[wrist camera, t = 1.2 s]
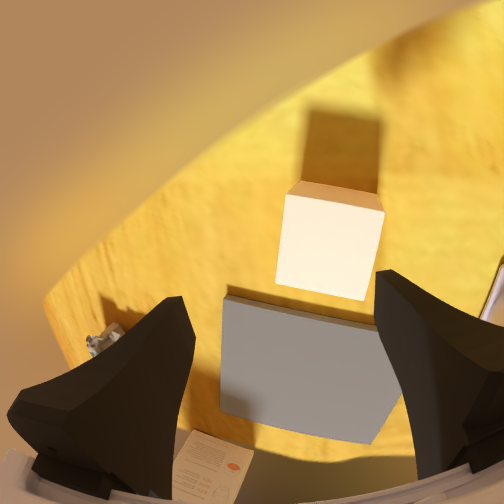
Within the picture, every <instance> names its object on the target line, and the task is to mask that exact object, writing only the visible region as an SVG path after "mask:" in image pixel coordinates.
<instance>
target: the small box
mask: <svg viewBox="0 0 504 504" xmlns="http://www.w3.org/2000/svg"><path fill="white" fill-rule="evenodd" d="M253 454H254V451H253V450H250V449H246V448H243V447H241V446H237V445H234V444H232V443H229V442H226V441H223V440H221V439H218V438H215V437H213V436H210V435H207V434H205V433H202V432H200V431H197V430H195V429H193V430H192V432H191V434H190V435H189V437H188V439H187V441H186V443H185V444H184V445H183V447H182V449H181V450H180V452H179V454H178V455H177V457H176V459H175V460H174V462H173V471H172V501H179V502H188V503H199V504H233V503H234V501H235V499H236V496H237V494H238V492H239V489H240V486H241V484H242V482H243V480H244V477H245V475H246V472H247V470H248V467H249V464H250V462H251V459H252V456H253Z"/></svg>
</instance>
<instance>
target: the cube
mask: <svg viewBox="0 0 504 504" xmlns="http://www.w3.org/2000/svg"><path fill="white" fill-rule="evenodd" d="M384 215H385V211H384V209H383V206H382V204H381V202H380V200H379V198H378V195H377V194H374V193H369V192H364V191H359V190H354V189H349V188H343V187H338V186H332V185H326V184H320V183H314V182H308V181H302V180H300V181H299V182H298V183H297V184H296V185H295V186H294V187H293V188H292V189H291V190H290V191H289V192H288V193H287V194H286V198H285V207H284V215H283V224H282V232H281V240H280V249H279V257H278V265H277V272H276V280H275V283H276V284H281V285H286V286H291V287H296V288H300V289H305V290H310V291H315V292H320V293H325V294H330V295H335V296H340V297H345V298H350V299H355V300H360V301H364V298H365V295H366V291H367V287H368V284H369V280H370V276H371V272H372V268H373V264H374V260H375V256H376V252H377V247H378V243H379V239H380V234H381V230H382V225H383V220H384Z"/></svg>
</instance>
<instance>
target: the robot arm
mask: <svg viewBox="0 0 504 504" xmlns="http://www.w3.org/2000/svg"><path fill="white" fill-rule="evenodd" d="M374 320H375V323H376V327H377V330H378V333H379V337H380V340H381V342H382V344H383V347H384V349H385V351H386V354H387V356H388V358H389V361H390V363H391V365H392V368H393V370H394V372H395V375H396V377H397V380H398V382H399V385H400V387H401V390H402V393H403V397H404V401H405V405H406V409H407V413H408V417H409V422H410V427H411V431H412V437H413V443H414V449H415V456H416V464H417V474H418V481H416V482H413V483H409V484H406V485H402V486H398V487H394V488H390V489H386V490H382V491H378V492H373V493H368V494H363V495H358V496H353V497H347V498H341V499H334V500H328V501H320V502H311V503H300V504H504V264H502V265H501V266H500V268H499V271H498V274H497V277H496V279H495V282H494V285H493V287H492V290H491V293H490V295H489V298H488V300H487V302H486V305H485V307H484V310H483V312H482V314H481V317H480V319H479V318H476V317H474V316H471V315H469V314H467V313H465V312H463V311H461V310H458V309H456V308H454V307H452V306H450V305H449V304H447V303H445V302H443V301H441V300H440V299H438V298H436V297H435V296H433V295H431V294H430V293H428V292H426V291H425V290H423V289H422V288H420V287H418V286H417V285H415V284H414V283H412V282H411V281H409V280H408V279H406V278H405V277H403V276H401V275H400V274H398V273H397V272H395V271H393V270H391V269H390V270H384V271H377V272H376V280H375V302H374ZM195 341H196V336H195V333H194V331H193V328H192V325H191V322H190V319H189V316H188V313H187V310H186V307H185V304H184V301H183V298H182V296H176V297H167V298H166V299H164V300H163V301H162V302H160V303H159V304H158V305H157V306H156V307H155V308H154V309H152V310H151V311H150V312H149V313H148V314H147V315H146V316H145V317H144V318H143V319H141V320H140V321H139V322H138V323H137V324H136V325H135V326H134V327H133V328H131V329H130V330H129V331H128V332H127V333H125V334H124V335H123V336H122V337H121V338H119V339H118V340H117V341H116V342H114V343H113V344H112V345H111V346H109V347H108V348H106V349H105V350H104V351H102V352H101V353H99V354H98V355H96V356H95V357H93V358H92V359H90V360H88V361H87V362H85V363H83V364H81V365H80V366H78V367H76V368H74V369H73V370H71V371H69V372H67V373H65V374H63V375H61V376H58V377H56V378H54V379H52V380H49V381H47V382H44V383H41V384H38V385H35V386H32V387H30V388H27V389H23V390H21V391H20V393H19V394H18V396H17V398H16V399H15V401H14V402H13V404H12V406H11V407H10V409H9V410H8V412H7V417H8V420H9V422H10V424H11V426H12V427H13V428H14V429H15V431H16V432H17V433H18V434H19V435H20V436H21V437H22V438H23V439H24V440H25V441H26V442H27V443H28V444H29V445H30V446H31V447H32V448H33V449H34V450H35V451H37V453H38V455H37V457H36V459H34V458H33V457H31V456H30V455H28V454H26V453H23V452H21V451H18V450H16V449H14V448H9V450H8V451H7V454H6V455H5V457H4V459H3V461H2V463H1V465H0V504H199V503H188V502H179V501H172V471H173V454H174V443H175V434H176V427H177V420H178V414H179V409H180V405H181V401H182V398H183V394H184V390H185V387H186V383H187V380H188V376H189V373H190V369H191V365H192V362H193V356H194V349H195Z"/></svg>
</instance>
